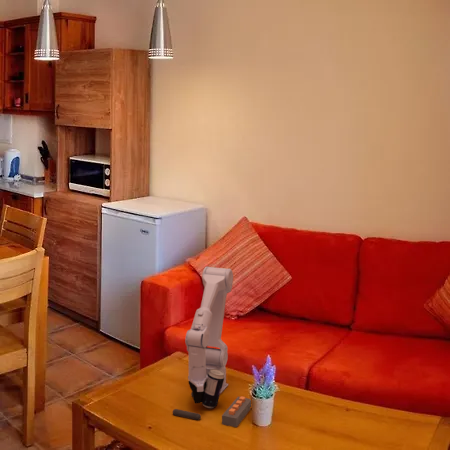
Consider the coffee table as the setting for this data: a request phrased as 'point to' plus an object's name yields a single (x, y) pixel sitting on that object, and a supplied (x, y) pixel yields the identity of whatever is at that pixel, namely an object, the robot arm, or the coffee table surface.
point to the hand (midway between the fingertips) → (197, 402)
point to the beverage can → (212, 388)
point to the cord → (186, 414)
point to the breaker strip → (236, 411)
